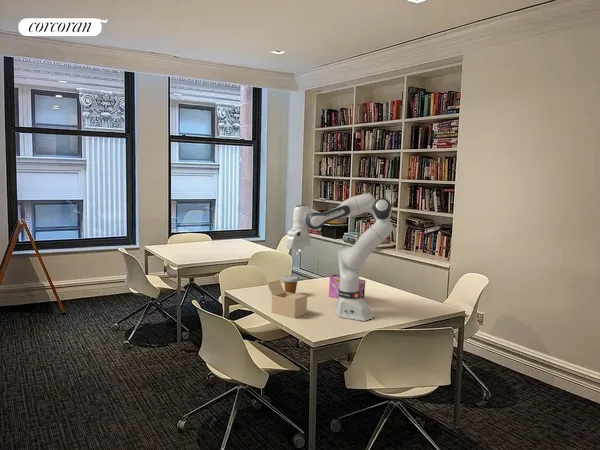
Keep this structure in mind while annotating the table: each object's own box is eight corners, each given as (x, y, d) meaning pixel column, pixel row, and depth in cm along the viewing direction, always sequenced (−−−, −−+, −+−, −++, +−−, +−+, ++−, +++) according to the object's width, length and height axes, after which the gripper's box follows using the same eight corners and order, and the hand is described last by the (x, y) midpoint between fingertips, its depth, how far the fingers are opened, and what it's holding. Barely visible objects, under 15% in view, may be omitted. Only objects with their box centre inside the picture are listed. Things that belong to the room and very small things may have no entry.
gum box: (366, 301, 317) (367, 280, 315) (360, 303, 310) (361, 282, 309) (334, 294, 331) (335, 274, 329) (328, 296, 324) (329, 276, 323)
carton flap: (279, 279, 293) (278, 280, 294) (267, 282, 284) (266, 283, 284) (284, 291, 292) (283, 291, 292) (272, 295, 282) (271, 295, 283)
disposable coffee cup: (300, 295, 324) (301, 277, 323) (292, 298, 316) (293, 279, 314) (287, 292, 329) (288, 275, 327) (280, 295, 321) (280, 277, 319)
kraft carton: (306, 313, 284) (307, 295, 283) (294, 318, 274) (295, 299, 273) (283, 308, 293) (284, 290, 292) (271, 312, 283) (272, 294, 282)
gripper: (305, 229, 305) (303, 252, 307) (285, 232, 289) (284, 256, 290) (313, 231, 302) (312, 253, 303) (294, 233, 285) (293, 257, 287)
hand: (298, 254), depth 297 cm, fingers closed
